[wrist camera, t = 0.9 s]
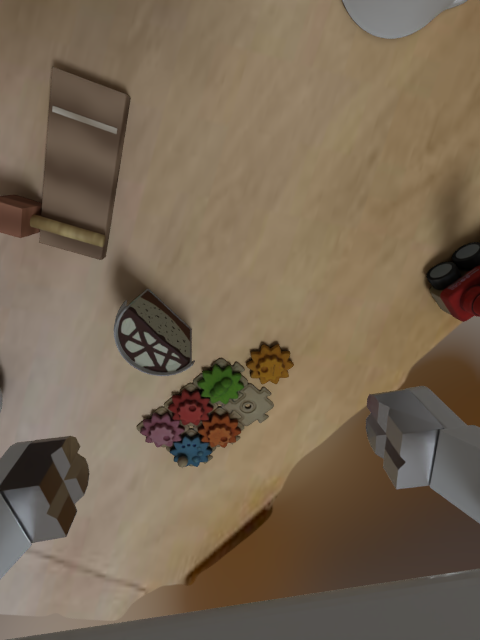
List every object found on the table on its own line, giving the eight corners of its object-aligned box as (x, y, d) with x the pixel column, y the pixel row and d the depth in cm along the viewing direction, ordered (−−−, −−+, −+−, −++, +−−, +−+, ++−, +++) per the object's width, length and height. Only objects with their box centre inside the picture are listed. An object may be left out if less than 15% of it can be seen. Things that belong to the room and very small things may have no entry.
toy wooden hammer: (14, 194, 42) (-16, 197, 36) (113, 224, 44) (98, 231, 39) (13, 221, 43) (-16, 227, 38) (109, 248, 45) (94, 258, 40)
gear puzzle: (260, 319, 52) (263, 330, 48) (317, 378, 58) (324, 392, 54) (133, 424, 59) (127, 441, 56) (195, 468, 65) (193, 485, 61)
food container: (112, 306, 49) (88, 336, 40) (140, 280, 48) (121, 305, 38) (171, 357, 53) (161, 394, 44) (198, 335, 52) (193, 369, 43)
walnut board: (60, 71, 37) (51, 66, 35) (130, 98, 38) (125, 94, 36) (46, 239, 44) (38, 242, 42) (105, 256, 46) (100, 260, 44)
